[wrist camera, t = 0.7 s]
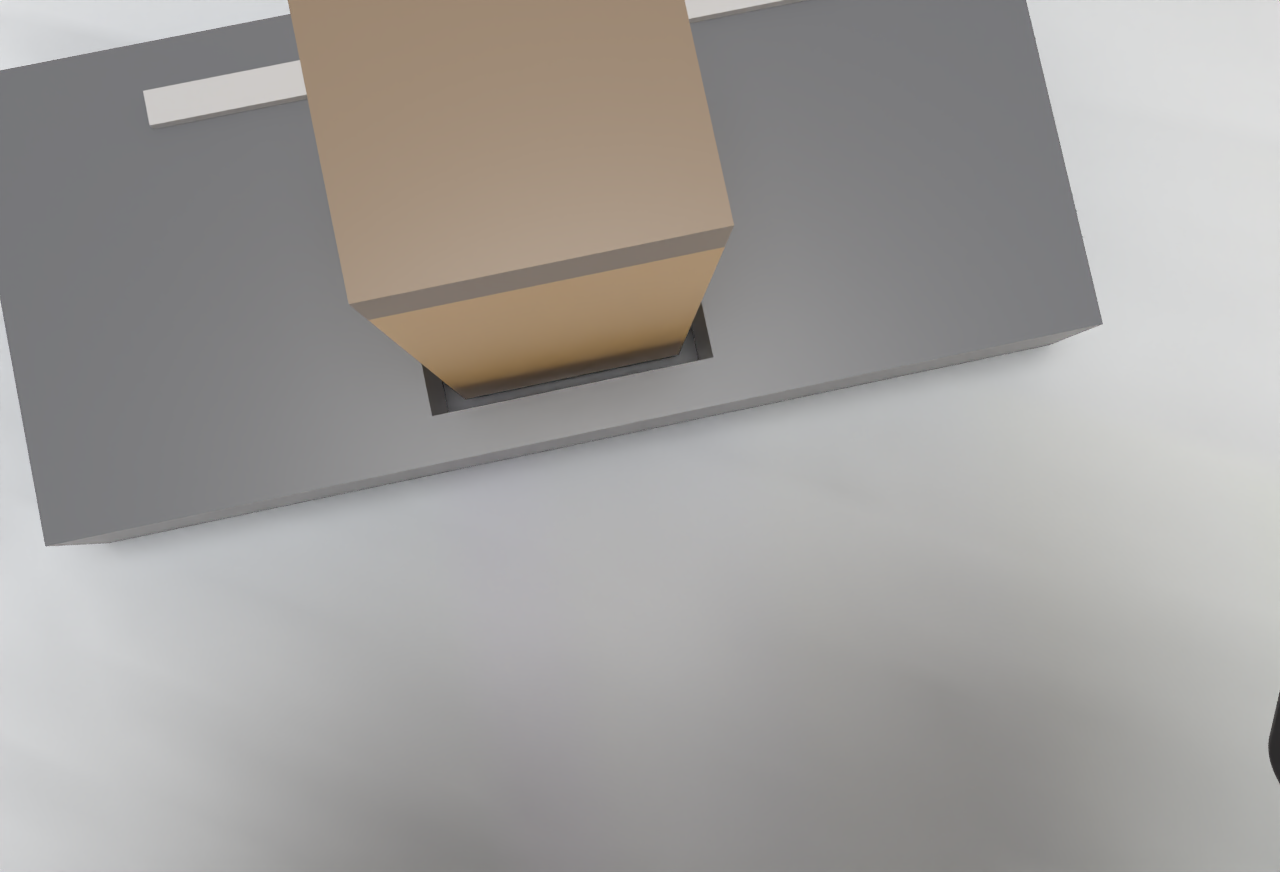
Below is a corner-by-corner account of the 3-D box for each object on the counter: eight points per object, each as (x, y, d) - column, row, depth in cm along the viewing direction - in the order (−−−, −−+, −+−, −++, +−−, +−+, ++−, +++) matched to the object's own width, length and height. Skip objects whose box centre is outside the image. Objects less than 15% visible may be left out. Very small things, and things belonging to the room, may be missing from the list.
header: (1049, 344, 23) (1107, 321, 20) (108, 543, 22) (39, 546, 20) (955, -57, 24) (1000, -130, 21) (30, 126, 23) (-47, 73, 20)
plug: (678, 354, 22) (734, 225, 12) (465, 398, 22) (349, 304, 12) (633, 145, 23) (653, -145, 13) (422, 188, 23) (273, -73, 13)
